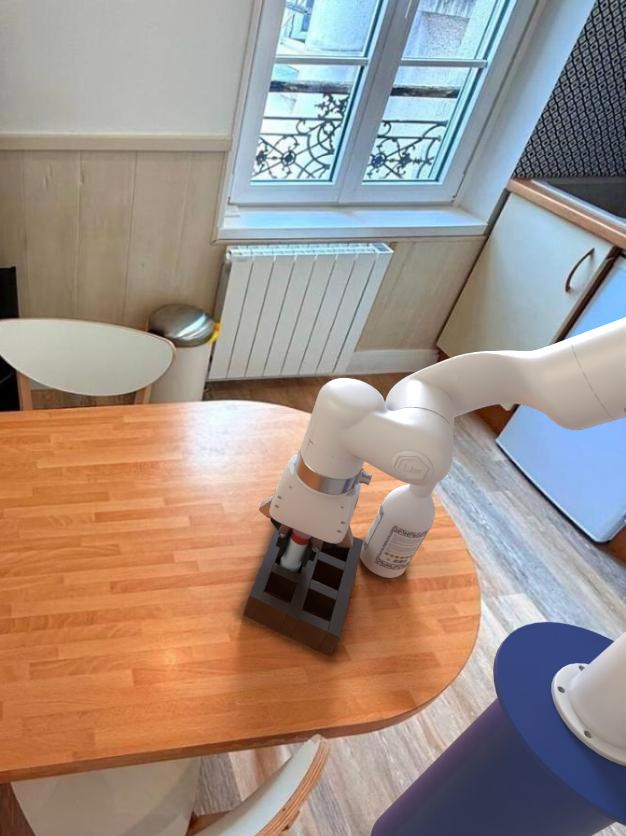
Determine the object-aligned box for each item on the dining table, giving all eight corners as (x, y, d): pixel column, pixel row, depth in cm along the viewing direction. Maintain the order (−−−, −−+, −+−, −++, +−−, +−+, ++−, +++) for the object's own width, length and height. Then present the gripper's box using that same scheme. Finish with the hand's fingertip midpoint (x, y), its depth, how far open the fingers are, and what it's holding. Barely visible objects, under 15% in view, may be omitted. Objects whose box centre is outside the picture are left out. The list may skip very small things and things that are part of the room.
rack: (354, 559, 96) (363, 540, 92) (329, 656, 83) (339, 637, 80) (276, 527, 100) (283, 507, 97) (242, 614, 87) (249, 595, 84)
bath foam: (414, 572, 94) (468, 485, 82) (378, 584, 92) (427, 498, 80) (384, 537, 99) (430, 450, 87) (349, 548, 97) (391, 461, 85)
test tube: (298, 569, 92) (315, 527, 86) (293, 584, 90) (310, 542, 84) (280, 561, 93) (295, 519, 87) (274, 575, 91) (289, 533, 85)
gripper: (398, 472, 77) (355, 559, 88) (272, 427, 82) (247, 514, 94) (389, 513, 72) (345, 599, 83) (255, 462, 77) (231, 550, 89)
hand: (293, 553), depth 88 cm, fingers closed on test tube, 2 cm apart
